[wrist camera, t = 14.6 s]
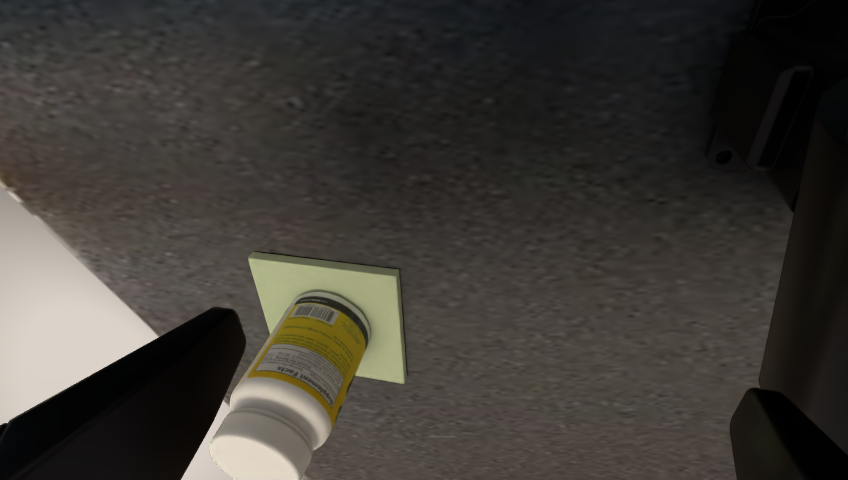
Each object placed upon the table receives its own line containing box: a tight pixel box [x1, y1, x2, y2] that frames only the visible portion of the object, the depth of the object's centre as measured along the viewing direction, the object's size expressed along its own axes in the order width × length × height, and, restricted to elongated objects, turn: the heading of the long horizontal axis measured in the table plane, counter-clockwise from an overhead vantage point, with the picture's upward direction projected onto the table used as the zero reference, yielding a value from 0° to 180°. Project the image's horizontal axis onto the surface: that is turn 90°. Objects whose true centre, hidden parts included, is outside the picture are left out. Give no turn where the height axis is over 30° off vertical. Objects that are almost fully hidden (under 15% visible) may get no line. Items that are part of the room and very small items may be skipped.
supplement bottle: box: [209, 292, 370, 480], centre depth 23 cm, size 5×5×8 cm
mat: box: [248, 252, 407, 384], centre depth 26 cm, size 8×8×1 cm
